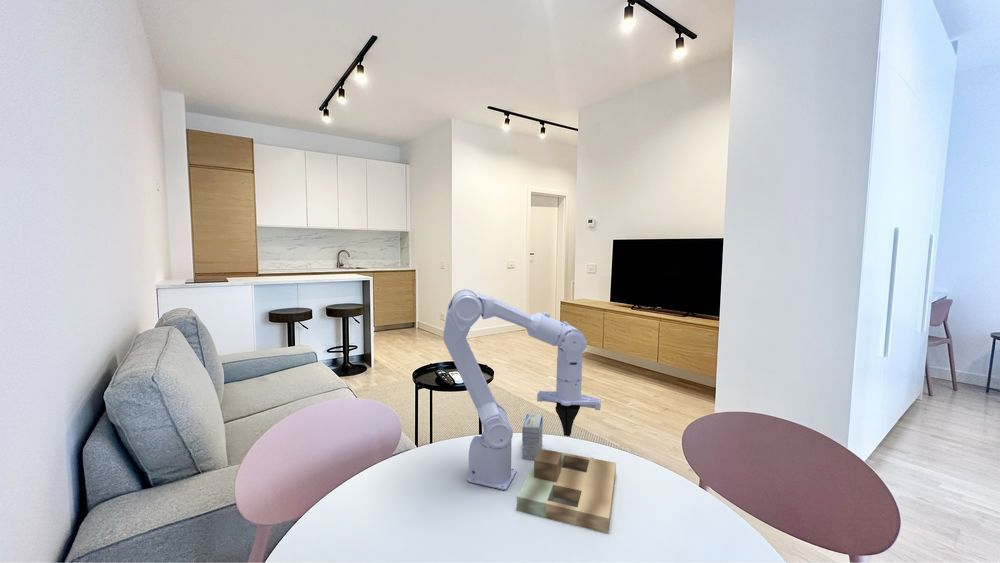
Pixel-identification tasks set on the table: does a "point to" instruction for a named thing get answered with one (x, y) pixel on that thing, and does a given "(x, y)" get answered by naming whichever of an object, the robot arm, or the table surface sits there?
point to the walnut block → (547, 465)
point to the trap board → (572, 493)
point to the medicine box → (532, 436)
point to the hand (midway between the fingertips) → (567, 434)
